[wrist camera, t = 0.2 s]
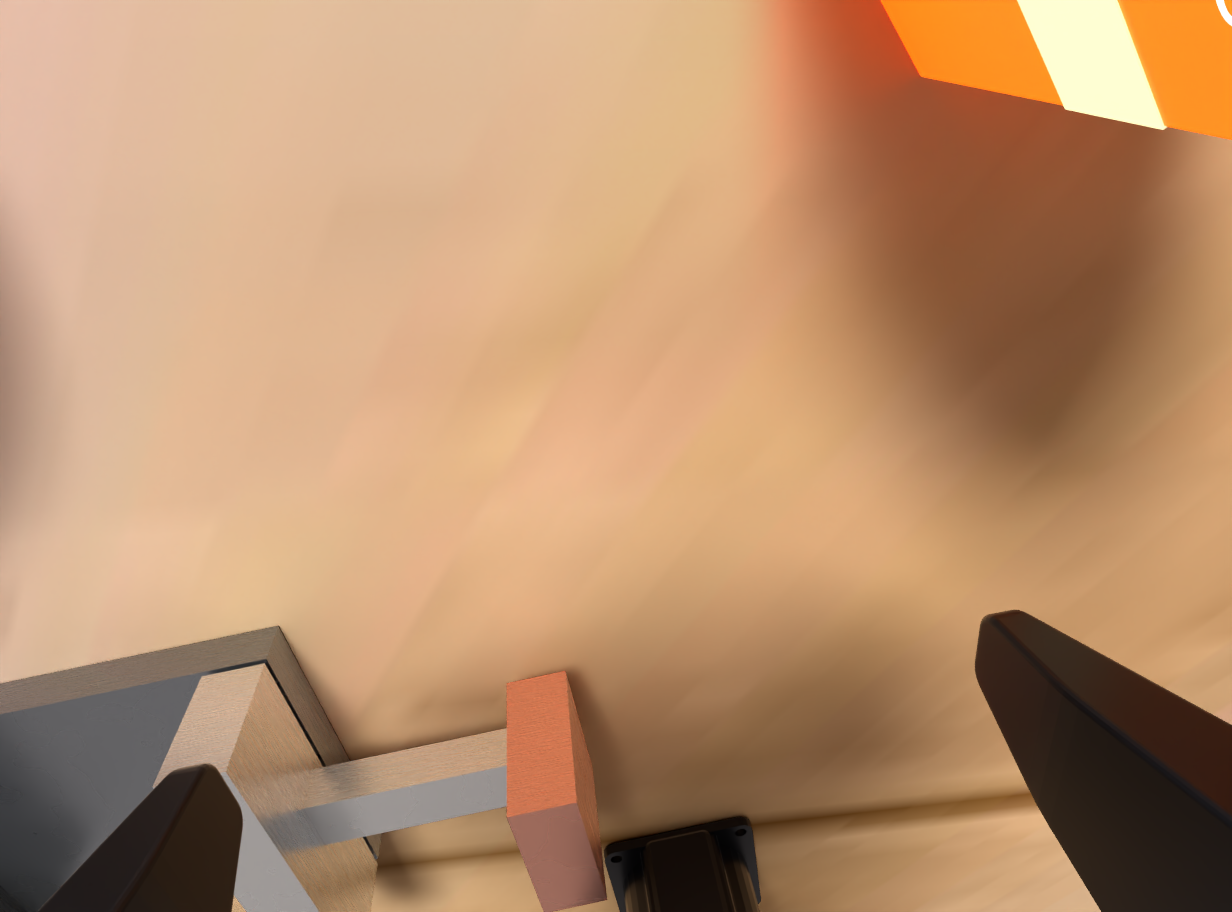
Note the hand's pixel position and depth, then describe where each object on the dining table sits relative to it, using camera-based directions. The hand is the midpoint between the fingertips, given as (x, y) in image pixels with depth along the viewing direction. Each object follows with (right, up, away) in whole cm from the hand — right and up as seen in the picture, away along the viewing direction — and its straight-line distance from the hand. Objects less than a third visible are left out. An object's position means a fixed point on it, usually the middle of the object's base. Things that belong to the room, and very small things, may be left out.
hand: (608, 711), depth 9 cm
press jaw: (-7, -7, +18) cm, 21 cm away
